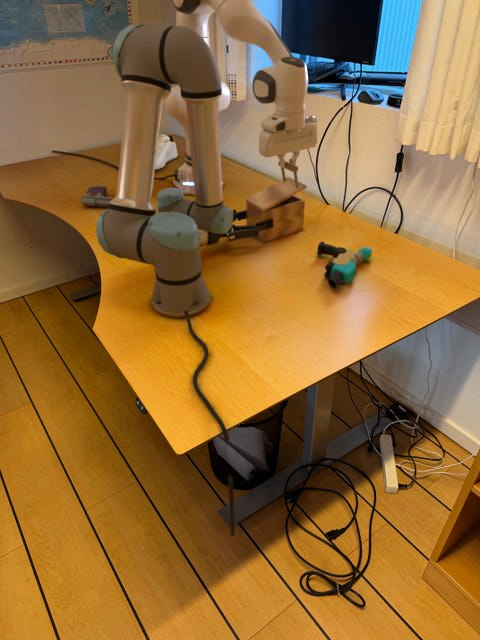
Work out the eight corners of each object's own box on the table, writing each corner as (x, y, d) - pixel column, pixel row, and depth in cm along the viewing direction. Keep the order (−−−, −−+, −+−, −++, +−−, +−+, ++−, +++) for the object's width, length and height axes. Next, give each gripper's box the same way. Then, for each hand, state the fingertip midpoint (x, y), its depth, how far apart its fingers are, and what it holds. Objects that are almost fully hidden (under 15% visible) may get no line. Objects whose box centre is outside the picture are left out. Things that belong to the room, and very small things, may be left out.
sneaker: (133, 173, 208) (129, 144, 201) (161, 153, 230) (158, 127, 223) (155, 175, 205) (151, 146, 198) (180, 155, 227) (178, 129, 220)
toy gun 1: (138, 196, 186) (123, 211, 174) (94, 193, 189) (76, 208, 177) (137, 186, 184) (121, 201, 172) (92, 183, 187) (74, 198, 175)
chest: (285, 219, 167) (286, 191, 161) (302, 229, 160) (305, 200, 154) (246, 231, 160) (246, 201, 154) (262, 242, 153) (263, 212, 147)
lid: (288, 179, 158) (284, 155, 153) (306, 187, 152) (303, 163, 146) (246, 201, 154) (241, 178, 148) (263, 211, 147) (258, 187, 141)
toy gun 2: (295, 270, 129) (349, 283, 123) (327, 233, 148) (374, 243, 142) (294, 284, 132) (346, 297, 126) (325, 246, 150) (372, 256, 145)
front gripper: (187, 232, 155) (244, 216, 164) (222, 259, 139) (283, 240, 149) (185, 210, 150) (244, 195, 160) (221, 236, 135) (284, 218, 145)
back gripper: (310, 112, 148) (307, 157, 156) (256, 122, 139) (255, 169, 147) (323, 116, 144) (319, 162, 152) (268, 127, 135) (267, 175, 143)
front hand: (263, 217), depth 154 cm, fingers closed on chest, 10 cm apart
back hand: (287, 166), depth 150 cm, fingers closed on lid, 2 cm apart
